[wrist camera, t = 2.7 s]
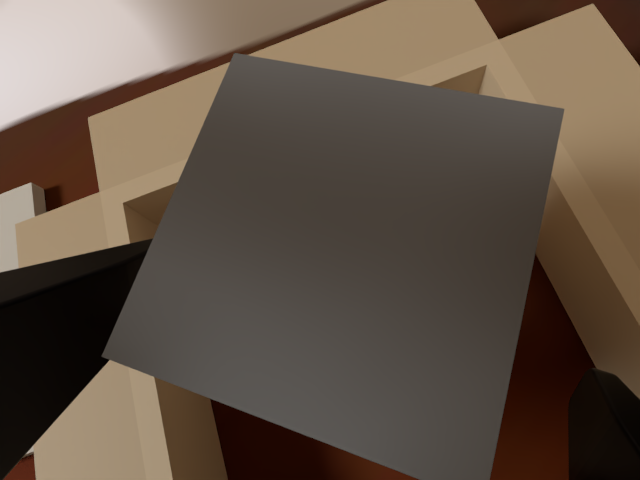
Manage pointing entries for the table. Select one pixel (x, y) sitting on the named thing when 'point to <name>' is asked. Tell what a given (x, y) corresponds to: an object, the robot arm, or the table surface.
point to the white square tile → (9, 211)
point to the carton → (390, 63)
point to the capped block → (349, 262)
